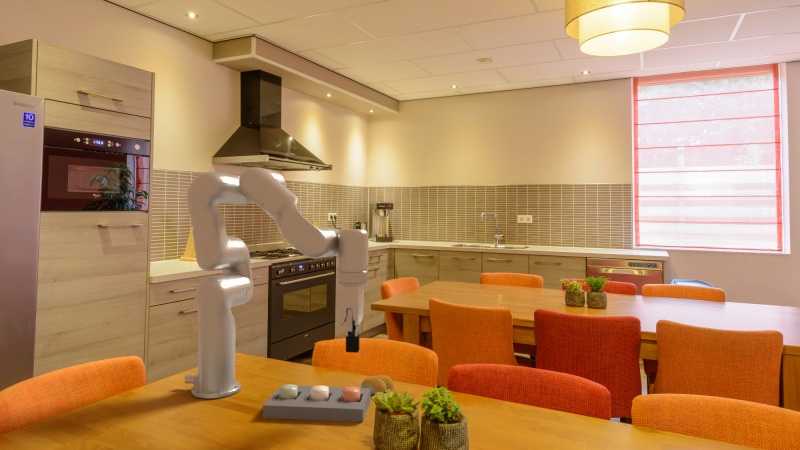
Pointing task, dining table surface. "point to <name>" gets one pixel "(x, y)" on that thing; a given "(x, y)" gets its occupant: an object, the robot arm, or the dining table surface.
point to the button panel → (317, 406)
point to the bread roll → (378, 383)
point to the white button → (320, 393)
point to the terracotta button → (351, 394)
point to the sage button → (288, 391)
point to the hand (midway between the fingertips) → (352, 351)
